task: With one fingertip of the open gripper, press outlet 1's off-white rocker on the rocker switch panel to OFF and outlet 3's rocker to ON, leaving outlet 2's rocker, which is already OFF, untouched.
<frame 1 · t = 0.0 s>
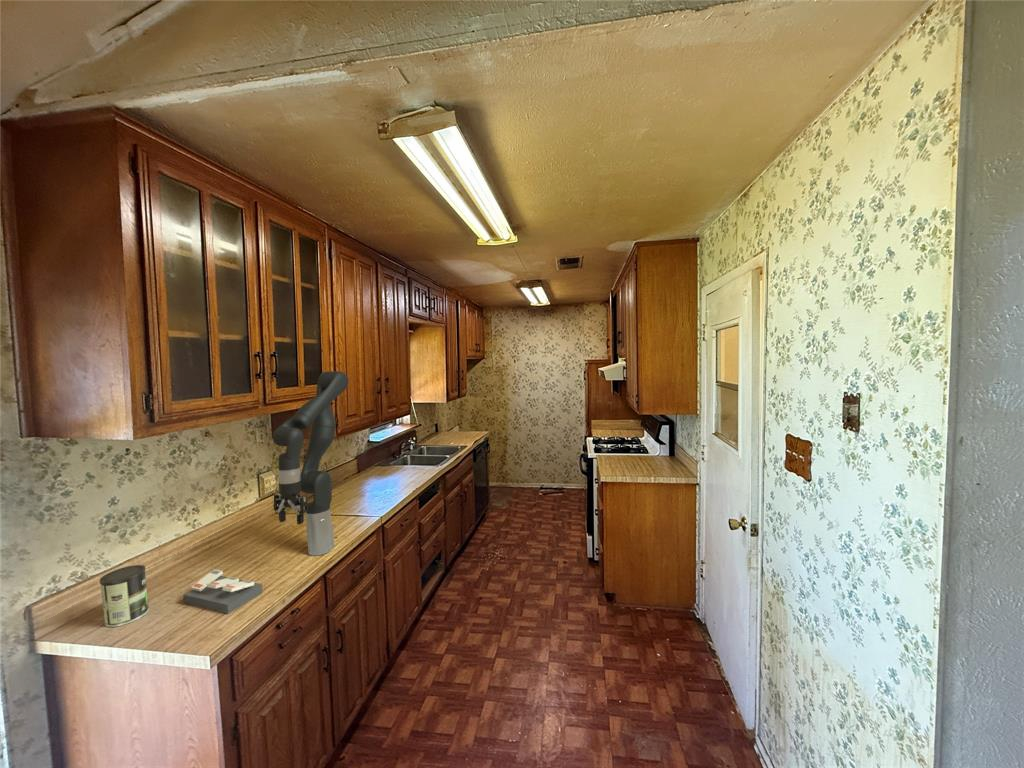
hand: (291, 522, 155), 17 cm above the countertop, tool pointing down, fingers open, 8 cm apart
rocker switch panel: (223, 597, 136), on the countertop
rocker 3: (238, 586, 134), point 5 cm above the countertop, hinge at -15.0°
rocker 1: (207, 580, 138), point 5 cm above the countertop, hinge at 15.0°
coffee can: (127, 617, 128), on the countertop
rocker 2: (223, 582, 136), point 5 cm above the countertop, hinge at -15.0°
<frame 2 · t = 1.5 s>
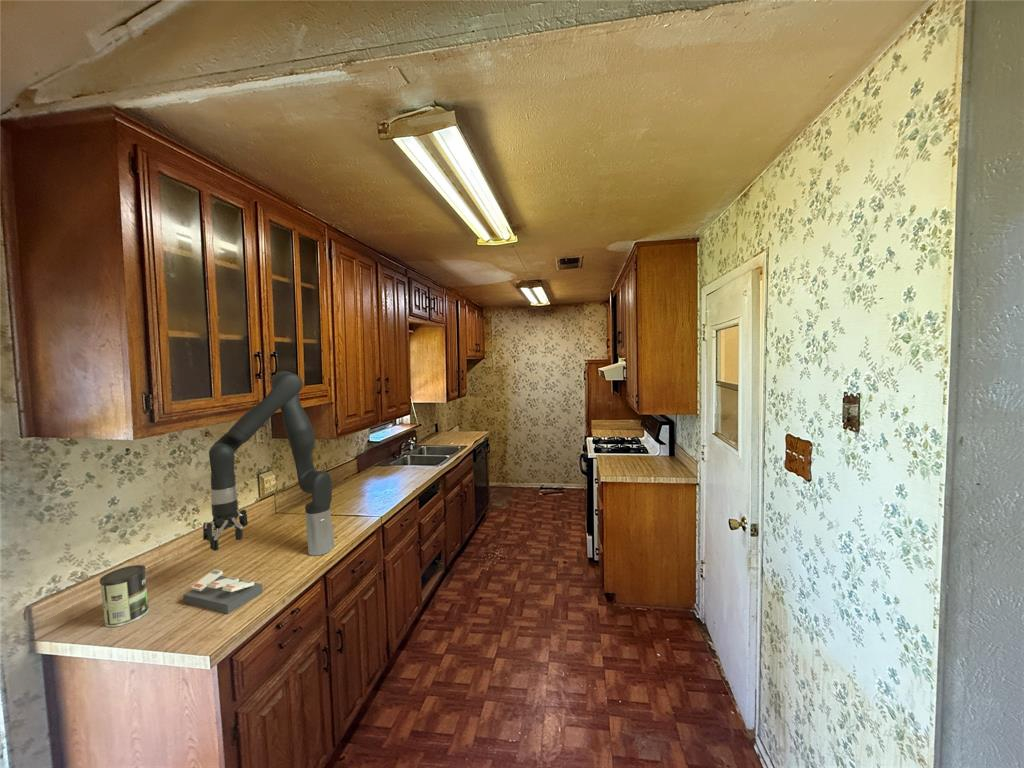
hand: (227, 544, 144), 14 cm above the countertop, tool pointing down, fingers open, 8 cm apart
nothing on the countertop moved.
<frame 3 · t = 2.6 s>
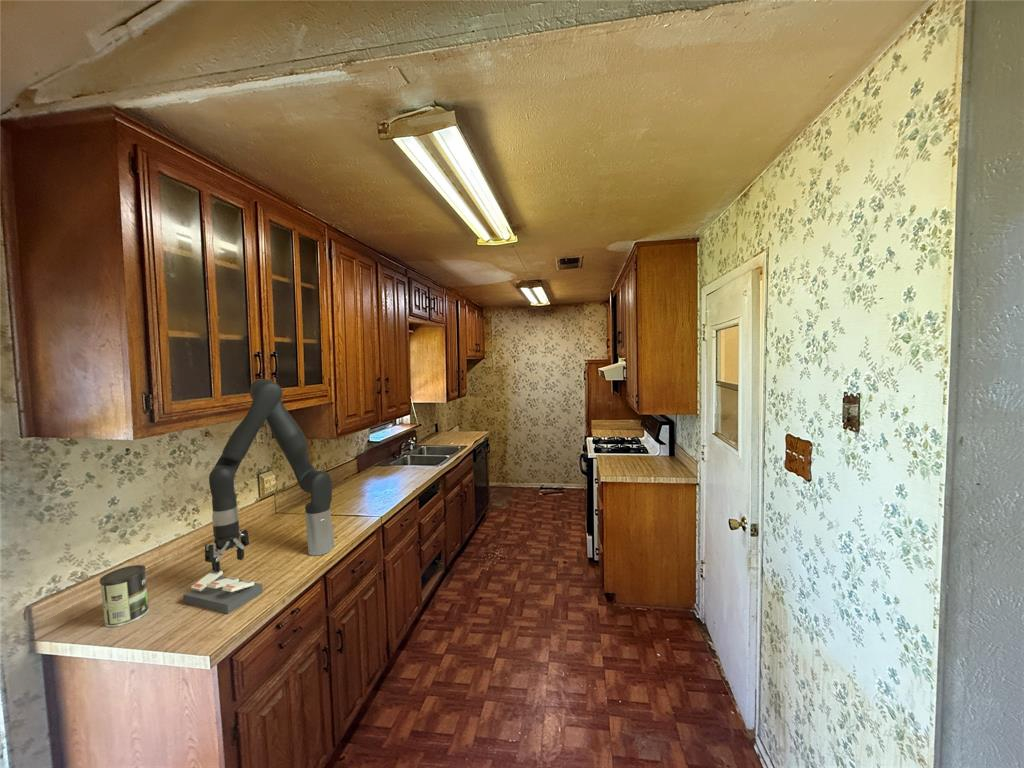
hand: (229, 565, 145), 7 cm above the countertop, tool pointing down, fingers open, 8 cm apart
rocker 1: (207, 580, 138), point 5 cm above the countertop, hinge at 15.0°, touching gripper
everything else where it was.
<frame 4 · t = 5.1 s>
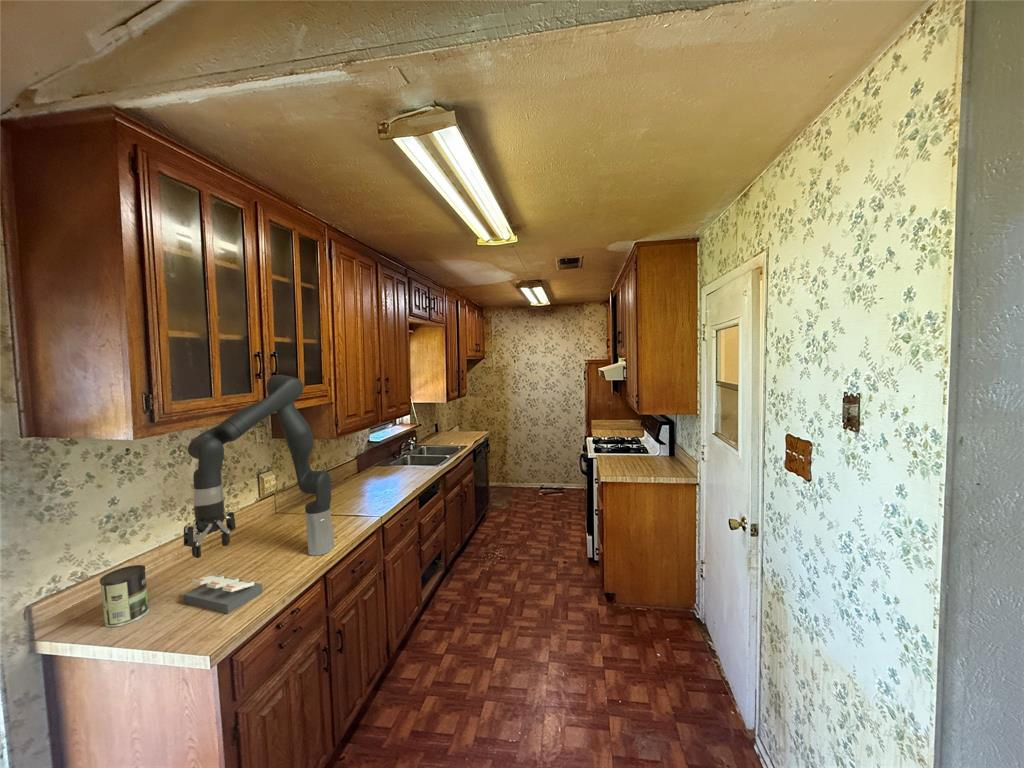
hand: (211, 551, 129), 19 cm above the countertop, tool pointing down, fingers open, 8 cm apart
rocker 1: (208, 579, 138), point 5 cm above the countertop, hinge at -17.3°
everything else where it was.
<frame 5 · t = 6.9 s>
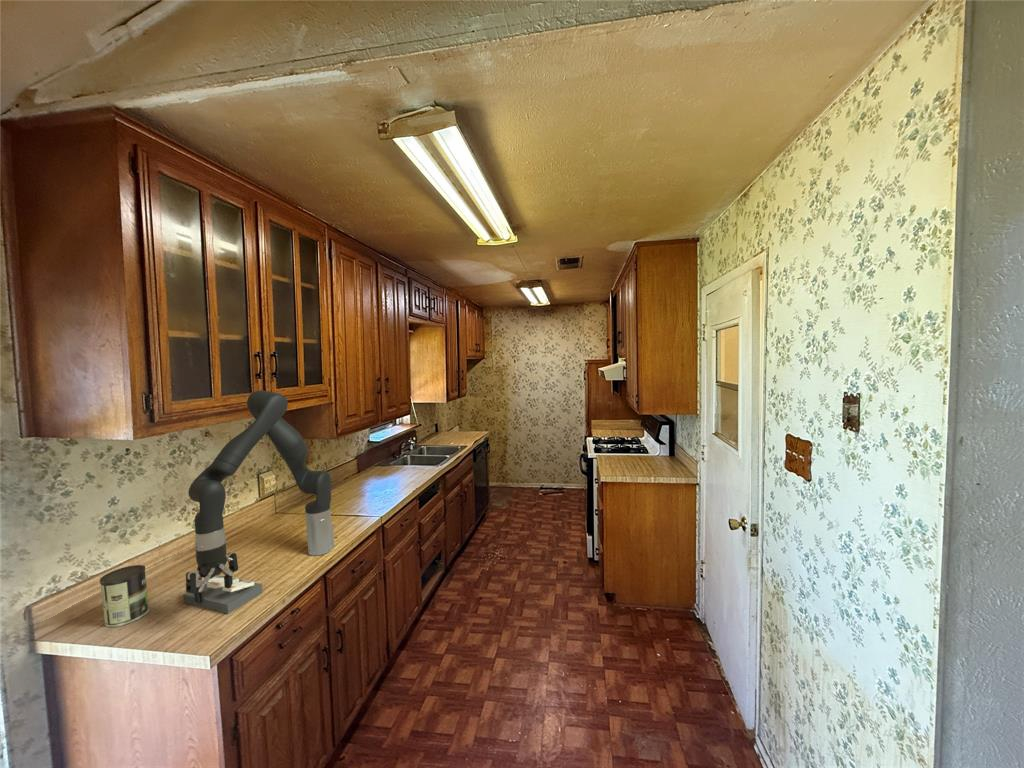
hand: (214, 595, 126), 7 cm above the countertop, tool pointing down, fingers open, 8 cm apart
rocker 3: (238, 586, 134), point 5 cm above the countertop, hinge at -15.0°, touching gripper
rocker 1: (208, 579, 139), point 5 cm above the countertop, hinge at -24.7°
everything else where it was.
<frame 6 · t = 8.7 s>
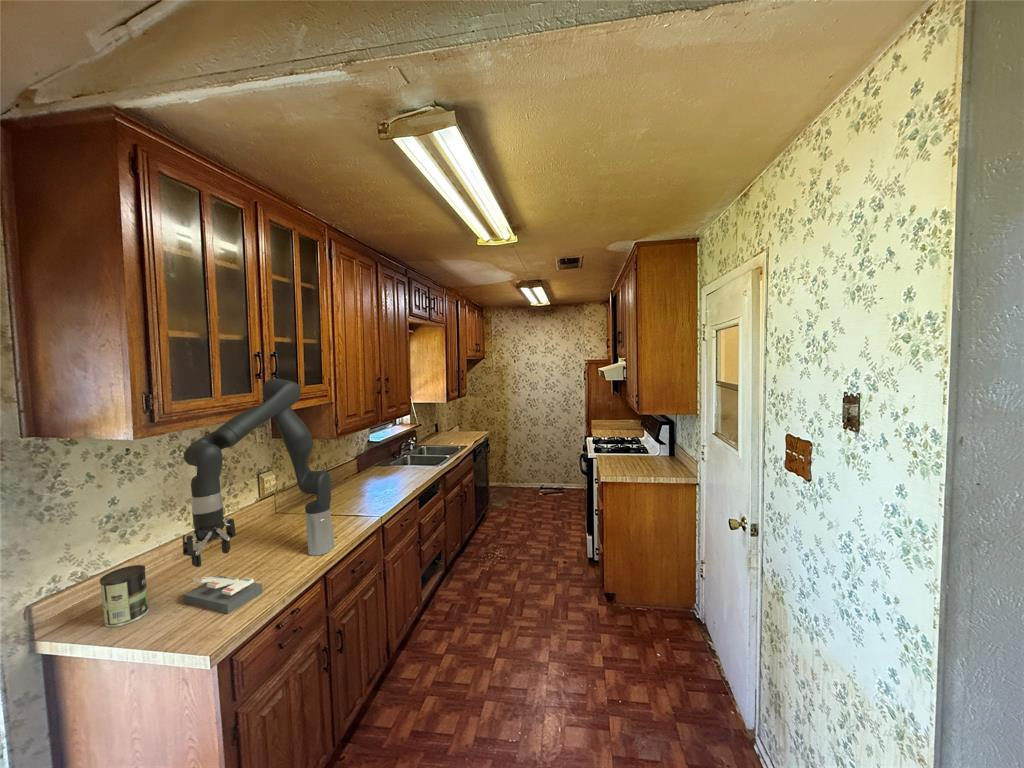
hand: (212, 559, 126), 18 cm above the countertop, tool pointing down, fingers open, 8 cm apart
rocker 3: (238, 586, 134), point 5 cm above the countertop, hinge at 0.3°
rocker 1: (208, 579, 139), point 5 cm above the countertop, hinge at -26.4°, touching rocker switch panel
everything else where it was.
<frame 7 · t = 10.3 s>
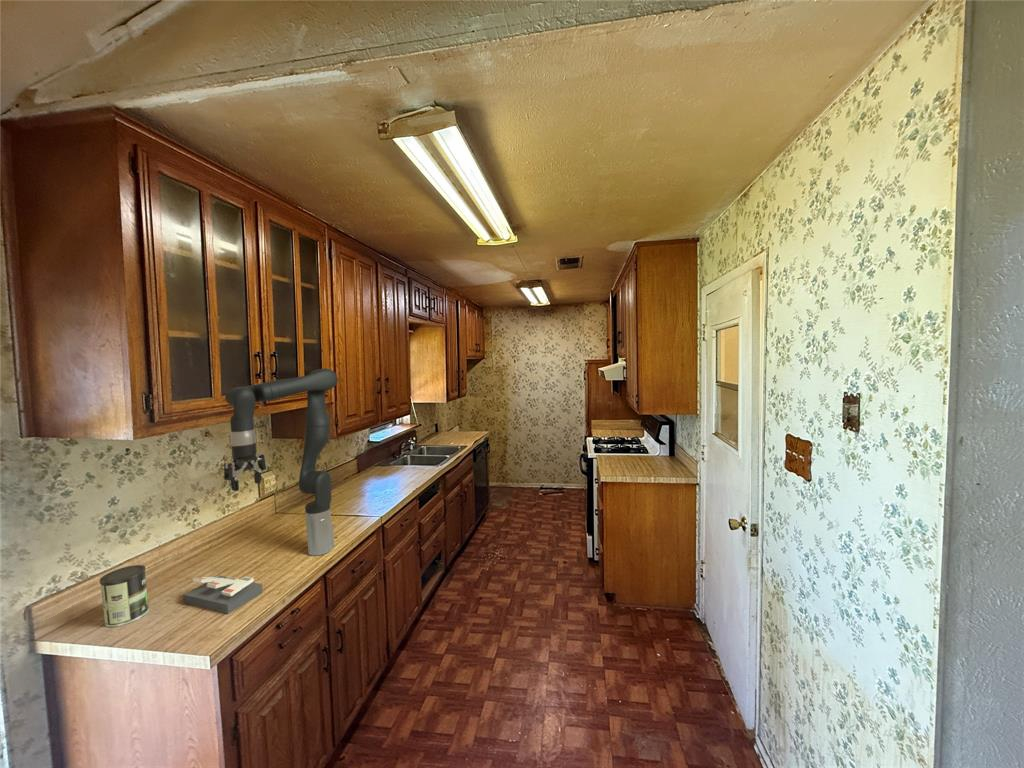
hand: (247, 486, 149), 33 cm above the countertop, tool pointing down, fingers open, 8 cm apart
rocker 3: (238, 586, 134), point 5 cm above the countertop, hinge at 5.3°
rocker 1: (208, 579, 139), point 5 cm above the countertop, hinge at -25.6°, touching rocker switch panel
everything else where it was.
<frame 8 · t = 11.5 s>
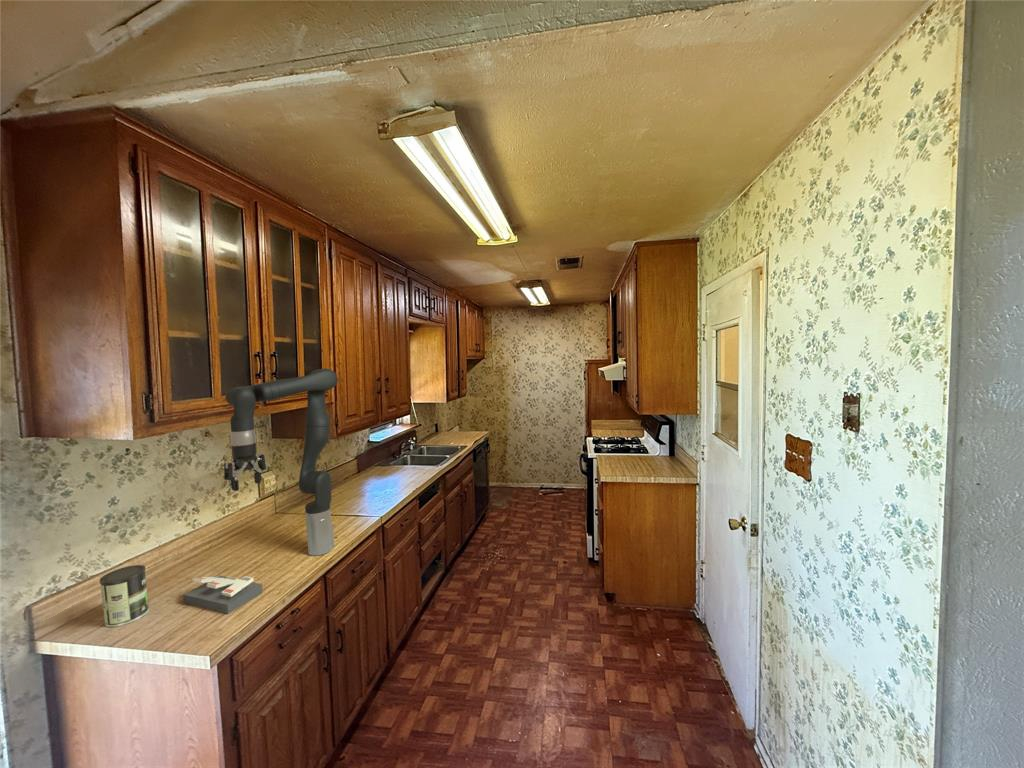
hand: (247, 486, 149), 33 cm above the countertop, tool pointing down, fingers open, 8 cm apart
rocker 3: (238, 586, 134), point 5 cm above the countertop, hinge at 7.2°
everything else where it was.
at the end: rocker 1 at -25° (first picture: +15°); rocker 3 at +7° (first picture: -15°); rocker 2 at -15° (first picture: -15°) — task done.
